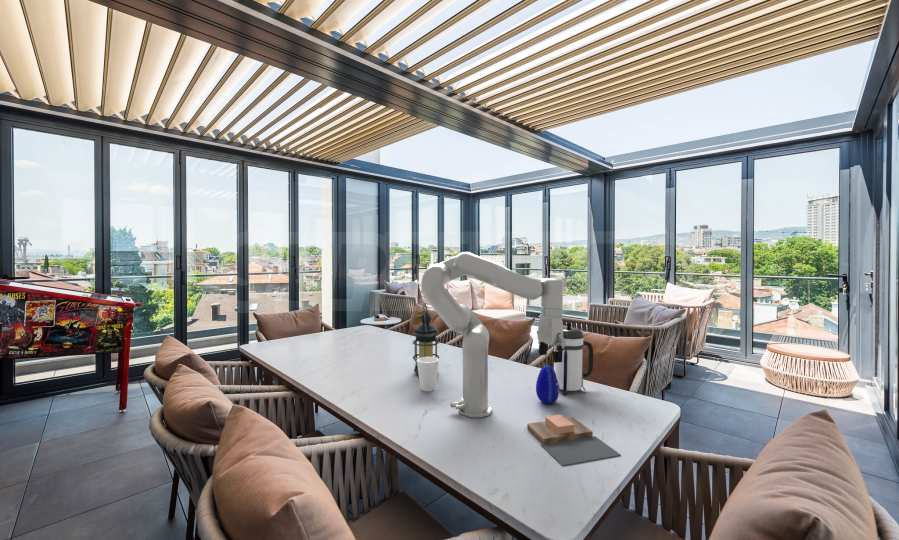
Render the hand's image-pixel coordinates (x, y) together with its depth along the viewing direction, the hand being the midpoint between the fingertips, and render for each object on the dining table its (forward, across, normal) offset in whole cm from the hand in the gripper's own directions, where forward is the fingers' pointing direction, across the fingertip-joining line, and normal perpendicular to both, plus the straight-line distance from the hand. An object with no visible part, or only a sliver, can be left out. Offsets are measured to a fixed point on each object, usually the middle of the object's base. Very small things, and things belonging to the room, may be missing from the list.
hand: (550, 358), depth 142 cm
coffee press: (+22, -21, +24) cm, 38 cm away
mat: (+22, +24, -4) cm, 33 cm away
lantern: (+23, -62, -30) cm, 72 cm away
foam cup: (+23, -41, -35) cm, 58 cm away
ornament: (+22, -11, +7) cm, 26 cm away
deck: (+22, +13, -4) cm, 25 cm away
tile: (+20, +13, -4) cm, 24 cm away
